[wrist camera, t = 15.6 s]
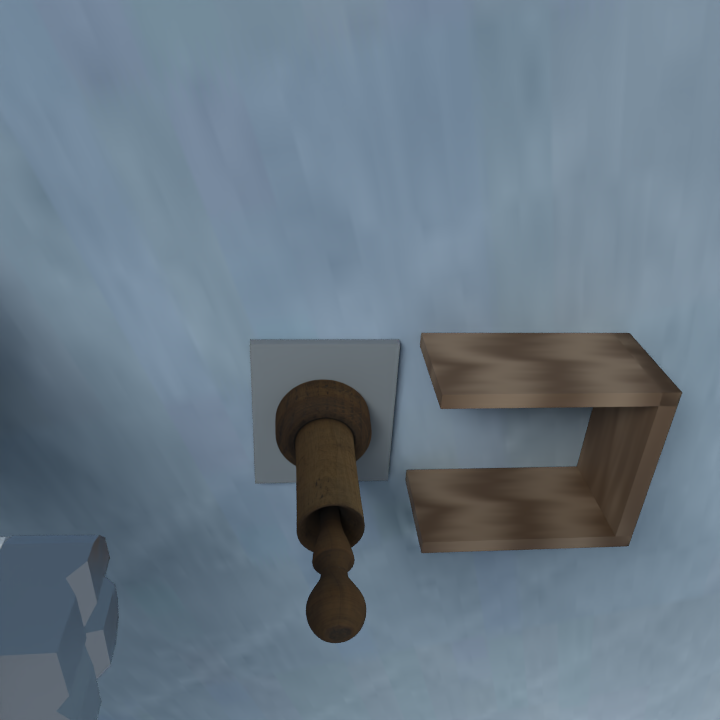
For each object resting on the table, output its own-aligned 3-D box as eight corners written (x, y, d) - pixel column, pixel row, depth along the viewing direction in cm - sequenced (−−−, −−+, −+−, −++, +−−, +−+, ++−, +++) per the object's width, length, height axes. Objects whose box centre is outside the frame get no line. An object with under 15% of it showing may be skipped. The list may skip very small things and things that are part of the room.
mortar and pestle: (370, 376, 47) (409, 584, 32) (368, 450, 50) (403, 670, 35) (272, 380, 47) (265, 593, 31) (278, 455, 50) (273, 680, 35)
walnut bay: (405, 479, 53) (421, 552, 47) (421, 333, 46) (442, 394, 40) (588, 475, 54) (628, 546, 48) (629, 333, 48) (682, 392, 41)
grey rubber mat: (255, 478, 52) (255, 483, 51) (250, 339, 45) (249, 344, 45) (386, 475, 53) (387, 480, 52) (398, 339, 46) (400, 343, 46)
